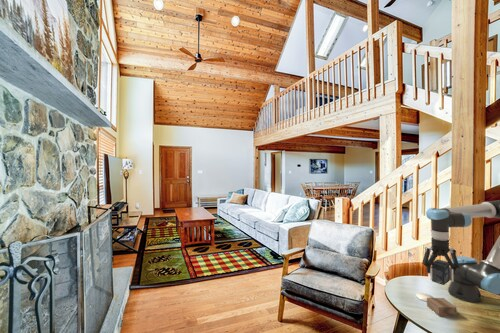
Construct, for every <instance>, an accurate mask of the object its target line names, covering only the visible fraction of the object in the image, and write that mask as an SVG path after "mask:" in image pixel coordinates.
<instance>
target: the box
mask: <svg viewBox="0 0 500 333" xmlns="http://www.w3.org/2000/svg"><path fill="white" fill-rule="evenodd" d="M431 267H432V280H431V282H433V283H435V284H438V285H442V286H445V285H446V284H447V283H449V282H450V280H449V267H450V265H449V263H448V262H447V260H446V261H445V260H442V259H438V258H436V259H435V260H434V262H433V264H432V265H431Z"/></svg>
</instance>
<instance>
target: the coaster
mask: <svg viewBox="0 0 500 333" xmlns="http://www.w3.org/2000/svg"><path fill="white" fill-rule="evenodd" d="M415 296H416V298H418V299H419V300H421V301H422V302H426V303H427V298H435V297H434V296H432V295H431V294H428V293H424V292H417V293H416V294H415Z"/></svg>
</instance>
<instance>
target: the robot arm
mask: <svg viewBox="0 0 500 333" xmlns="http://www.w3.org/2000/svg"><path fill="white" fill-rule="evenodd" d="M425 216H426V217H427V219H428V220H430V225H431V230H430V232H431V235H430V236H431V239H430V240H431V242H430V243H431V246H430V247H427V246H425V247H424V254H423V259H422V262H421V264H422V265H423V266H425V267H426V269H425V270H426V272H427V273H428V274H427V275H428V276H427V277H428V279H429V280H431V281H432V264H433V262H434V261H435V260H437V258H438V257H444V258H445V260H446V262H448V263H449V281H450V283H449V286H448V288H447V291H448V294H449V295H450V296H452V297H453V298H456V299H458V300H461V301H464V302H469V303H481V302H482V300H483V297H482V293H481V291H480V289H482V290H484V291H486V292H488V293H490V294H493V295H500V235H499V236H498V238H497V240H496V241H495V243H494V245H493V246H492V248H491V250H490V251H489V253H488V255H487V257H486V259H484V260H480V262H479V261H478V260H477V259H476V258H474V257H469V256H462V255H461V256H460V255H458V256H457V255H456V254H457V250H456V249H454V248H450V240H449V239H450V228H467V227H470V226H471V225H472V223H473V222H472V221H473V219H476V218H488V219H492V218H495V219H500V200H499V199H498V200H490V201H482V202H481V203H477V204H471V205H462V206H453V207H443V208H436V207H429V208H427V210H426V214H425ZM431 251H432V252H431ZM449 253H450V255H449ZM430 254H431V255H430ZM450 256H451V258H450ZM478 262H479V263H478ZM479 288H480V289H479Z"/></svg>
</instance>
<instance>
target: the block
mask: <svg viewBox="0 0 500 333" xmlns="http://www.w3.org/2000/svg"><path fill="white" fill-rule="evenodd" d="M426 307H427V308H428V309H430V310H431V311H432V312H433V311H434V312H435V313H434V312H433V313H434V314H436V316H438V317H457V314H458V313H457V306H455V305H454V304H452V303H451V302H450V301H448V300H447V299H446V298H444V297H434V298H427V302H426Z"/></svg>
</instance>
